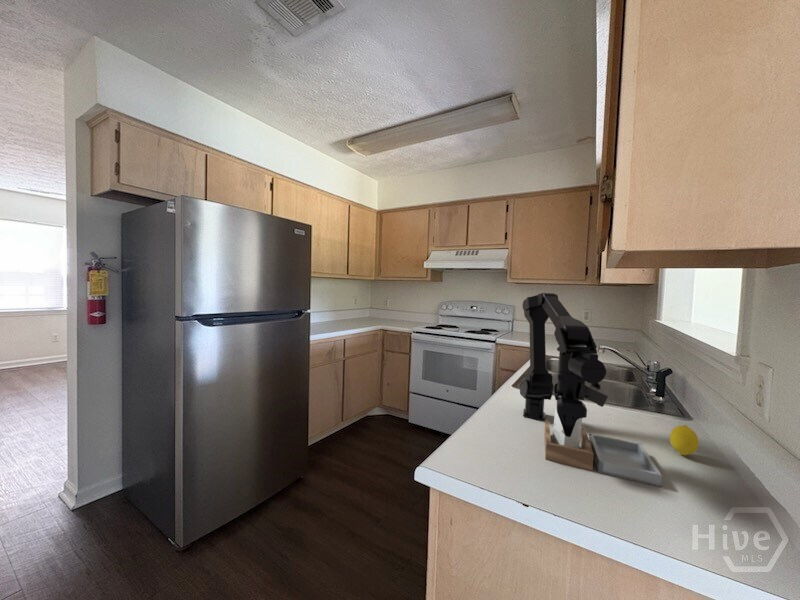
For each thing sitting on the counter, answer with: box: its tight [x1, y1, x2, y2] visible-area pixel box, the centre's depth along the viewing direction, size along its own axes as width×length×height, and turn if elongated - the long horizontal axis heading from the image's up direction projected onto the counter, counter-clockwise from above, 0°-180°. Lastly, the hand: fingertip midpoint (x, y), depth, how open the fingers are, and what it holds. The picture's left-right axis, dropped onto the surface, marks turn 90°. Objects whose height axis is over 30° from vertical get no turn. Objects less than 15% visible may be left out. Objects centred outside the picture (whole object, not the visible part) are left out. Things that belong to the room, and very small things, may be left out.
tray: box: [588, 433, 663, 488], centre depth 78 cm, size 16×12×3 cm
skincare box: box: [551, 399, 583, 449], centre depth 83 cm, size 6×4×12 cm
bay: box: [543, 419, 594, 471], centre depth 83 cm, size 16×10×4 cm, turn 156°
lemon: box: [669, 424, 699, 457], centre depth 82 cm, size 6×6×8 cm
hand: (566, 430), depth 83 cm, fingers open, 8 cm apart
